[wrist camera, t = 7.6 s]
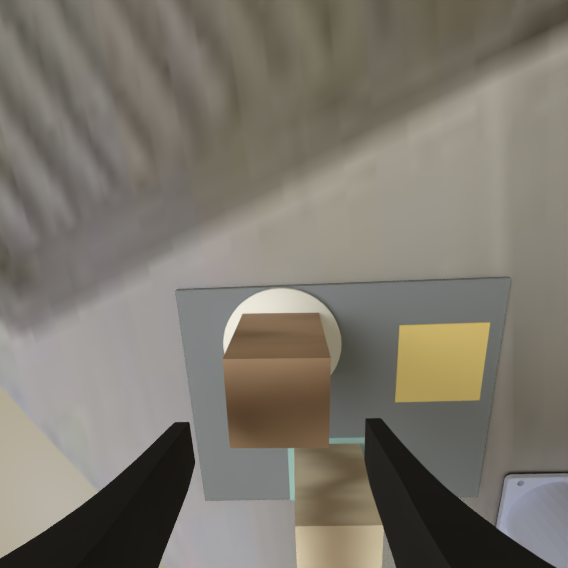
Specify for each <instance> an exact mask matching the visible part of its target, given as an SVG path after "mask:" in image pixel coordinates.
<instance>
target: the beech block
mask: <svg viewBox="0 0 568 568" xmlns="http://www.w3.org/2000/svg"><path fill="white" fill-rule="evenodd" d="M294 480H295V533H296V554H297V568H382V550H383V531H384V528H383V525H382V522H381V519H380V516H379V513H378V510H377V507H376V504H375V501H374V498H373V494H372V491H371V488H370V484H369V480H368V475H367V471H366V466H365V461H364V456H363V452H362V449H361V446H360V443H339V444H329V448H294Z"/></svg>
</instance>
